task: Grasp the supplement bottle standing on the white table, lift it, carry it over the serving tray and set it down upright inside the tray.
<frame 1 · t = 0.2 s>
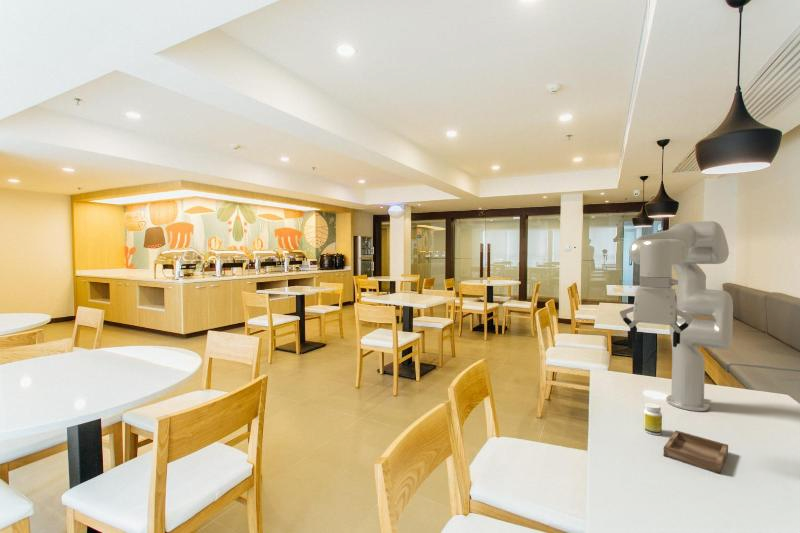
hand: (654, 343, 108), 30 cm above the table, tool pointing down, fingers open, 9 cm apart
supplement bottle: (652, 432, 119), on the table
tray: (695, 454, 105), on the table
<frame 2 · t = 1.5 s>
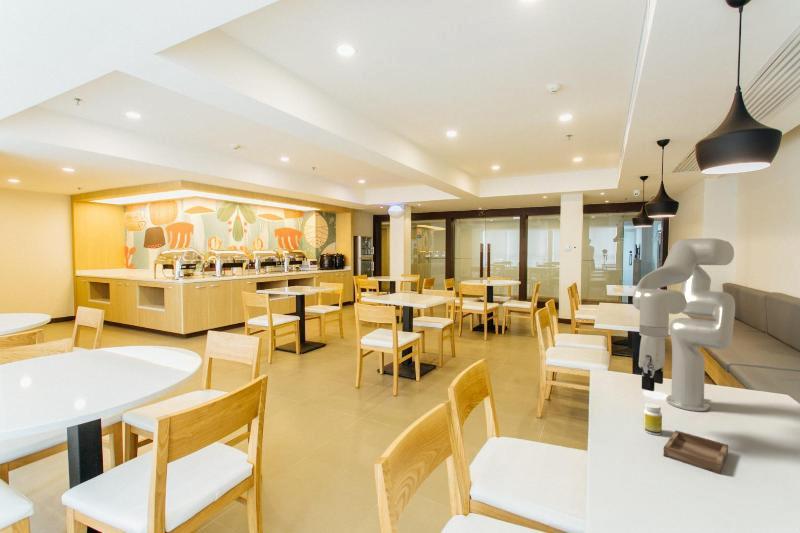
hand: (652, 386, 118), 15 cm above the table, tool pointing down, fingers open, 9 cm apart
nothing on the table moved.
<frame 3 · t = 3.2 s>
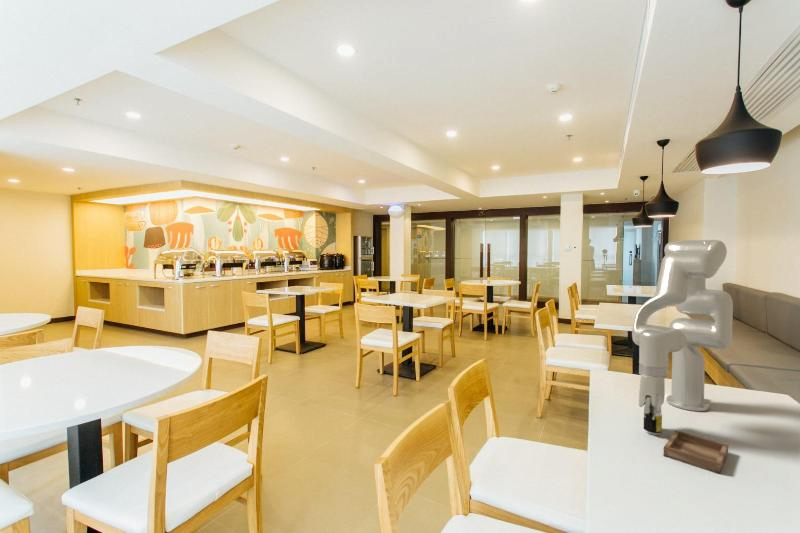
hand: (652, 427, 119), 1 cm above the table, tool pointing down, fingers closed on supplement bottle, 4 cm apart
supplement bottle: (652, 432, 119), on the table, touching gripper
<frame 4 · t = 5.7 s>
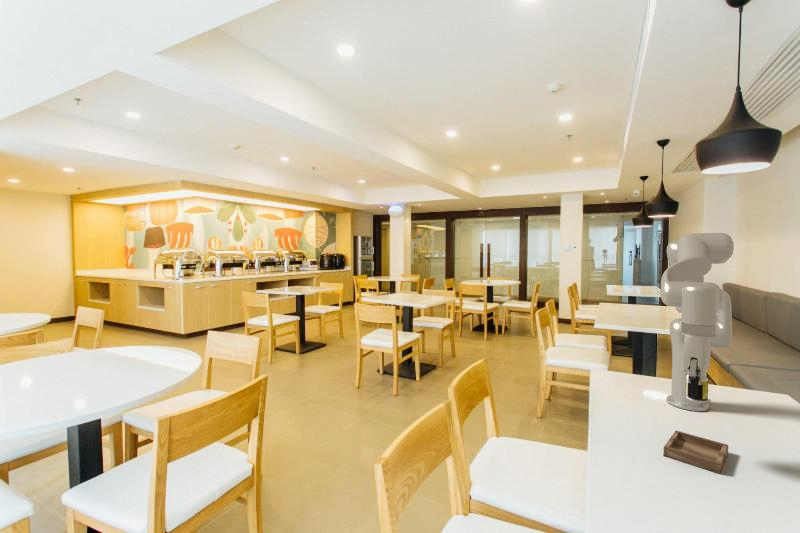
hand: (697, 394, 105), 17 cm above the table, tool pointing down, fingers closed on supplement bottle, 4 cm apart
supplement bottle: (696, 400, 105), point 15 cm above the table, touching gripper
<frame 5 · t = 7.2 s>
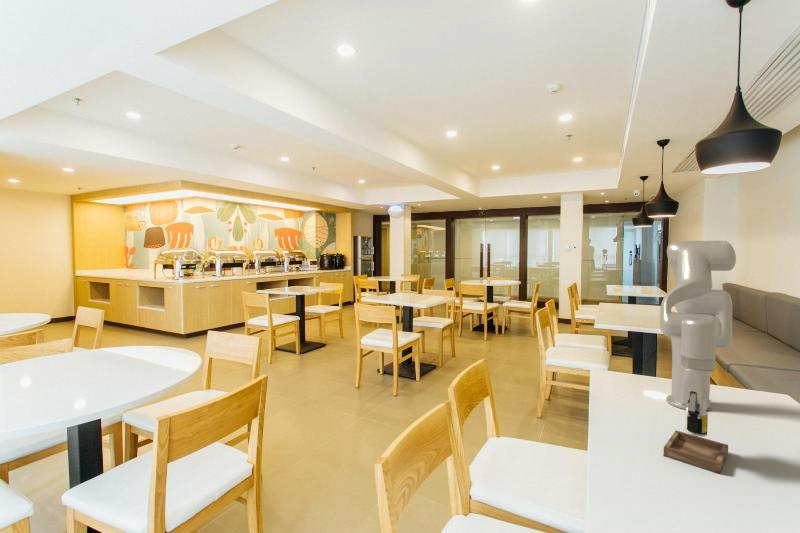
hand: (696, 427, 105), 8 cm above the table, tool pointing down, fingers closed on supplement bottle, 4 cm apart
supplement bottle: (696, 433, 105), point 6 cm above the table, touching gripper
when the fingers open (3 cm above the table, at t = 8.4 s): supplement bottle drops 1 cm, resting on tray.
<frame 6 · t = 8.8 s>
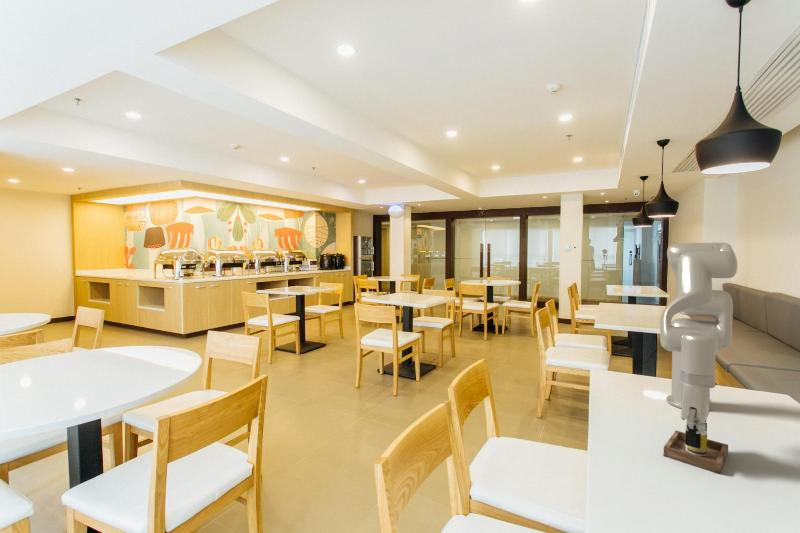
hand: (696, 440, 105), 4 cm above the table, tool pointing down, fingers open, 8 cm apart
supplement bottle: (695, 452, 106), resting on tray
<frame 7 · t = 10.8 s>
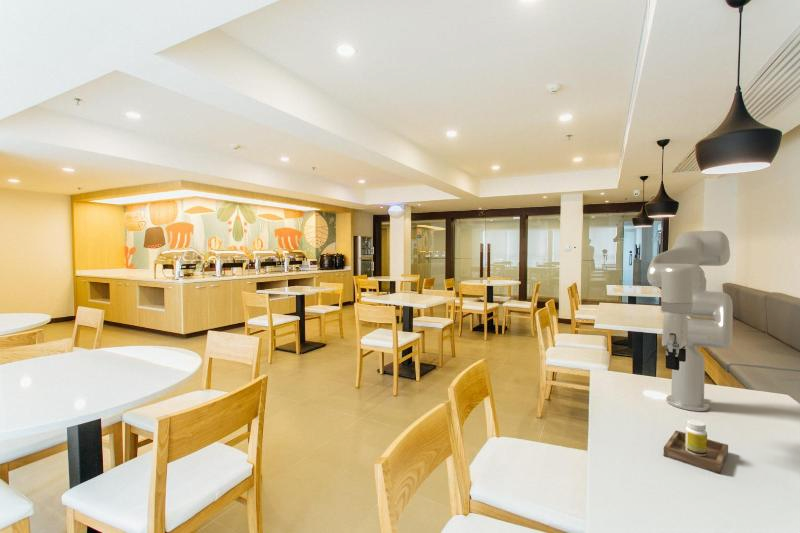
hand: (675, 364, 113), 23 cm above the table, tool pointing down, fingers open, 9 cm apart
nothing on the table moved.
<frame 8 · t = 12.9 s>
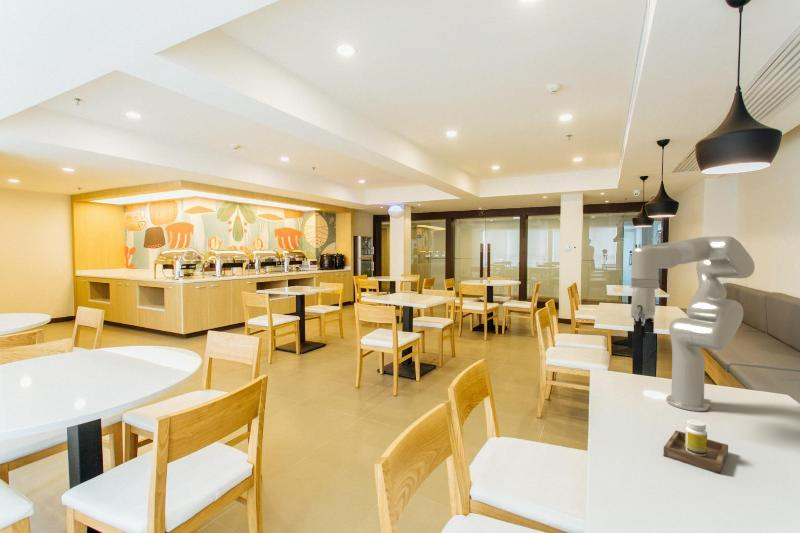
hand: (643, 334, 127), 28 cm above the table, tool pointing down, fingers open, 9 cm apart
nothing on the table moved.
at the end: supplement bottle inside the target area on the tray (0.2 cm from its centre), point 0.4 cm above the tray's base; supplement bottle tilted 0°; the gripper is holding nothing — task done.
